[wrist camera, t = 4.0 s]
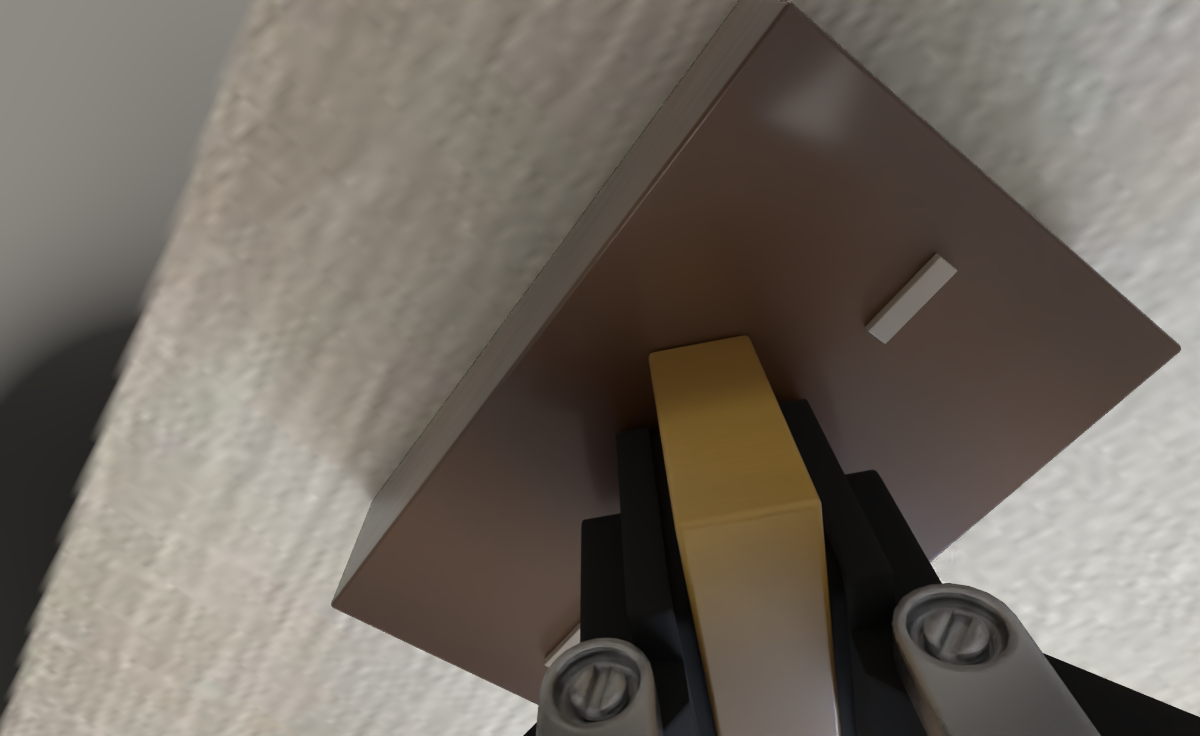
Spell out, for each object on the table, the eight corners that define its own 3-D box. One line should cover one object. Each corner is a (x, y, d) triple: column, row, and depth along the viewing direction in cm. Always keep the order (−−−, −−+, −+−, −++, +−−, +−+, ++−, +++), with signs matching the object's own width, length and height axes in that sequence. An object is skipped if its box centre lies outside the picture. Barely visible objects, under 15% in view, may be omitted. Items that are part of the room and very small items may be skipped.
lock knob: (646, 350, 11) (676, 541, 8) (748, 332, 11) (829, 516, 7) (699, 620, 14) (740, 863, 10) (782, 607, 14) (856, 848, 10)
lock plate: (744, -8, 12) (793, 0, 9) (1073, 277, 14) (1193, 354, 11) (371, 503, 16) (326, 614, 14) (667, 658, 19) (682, 781, 16)
